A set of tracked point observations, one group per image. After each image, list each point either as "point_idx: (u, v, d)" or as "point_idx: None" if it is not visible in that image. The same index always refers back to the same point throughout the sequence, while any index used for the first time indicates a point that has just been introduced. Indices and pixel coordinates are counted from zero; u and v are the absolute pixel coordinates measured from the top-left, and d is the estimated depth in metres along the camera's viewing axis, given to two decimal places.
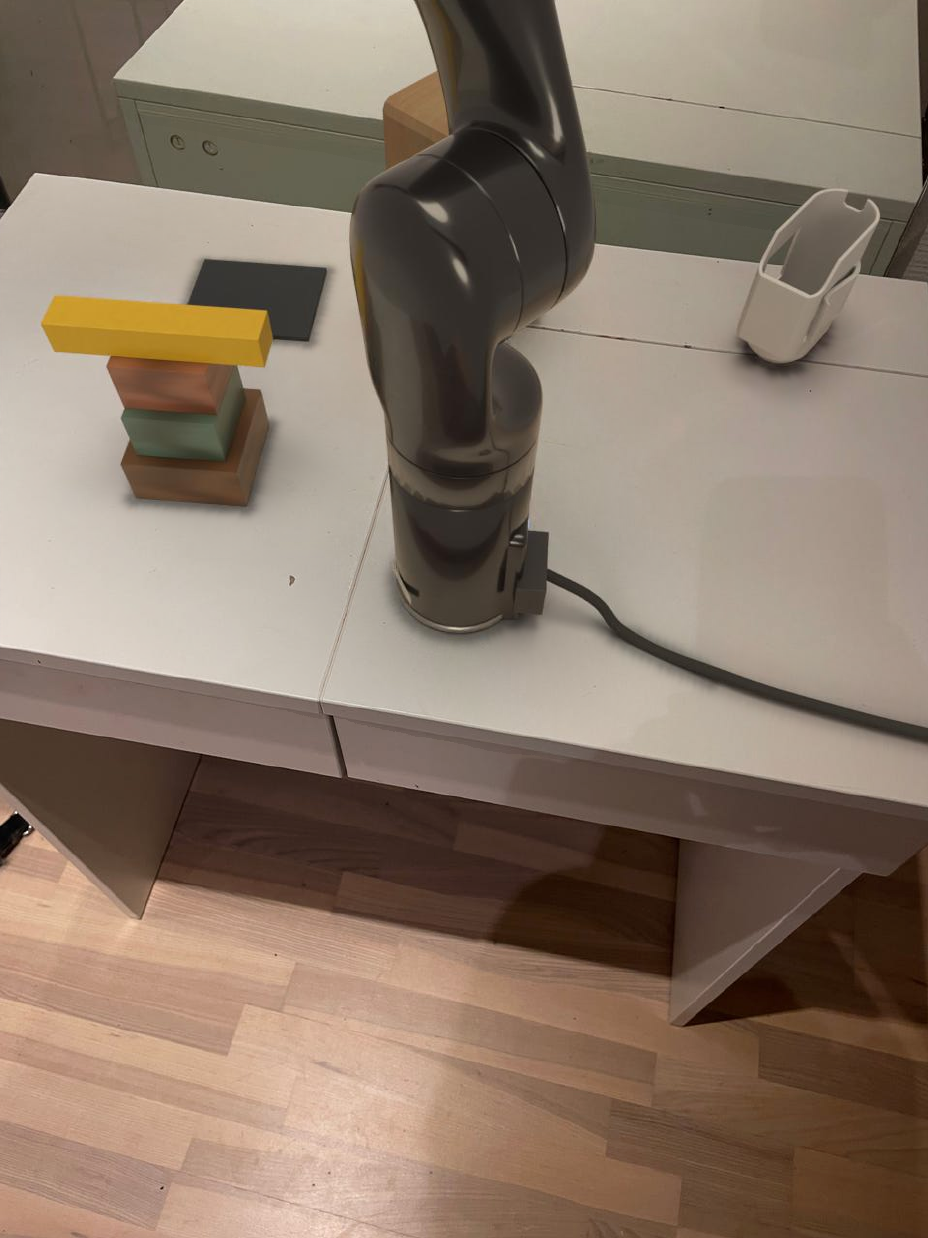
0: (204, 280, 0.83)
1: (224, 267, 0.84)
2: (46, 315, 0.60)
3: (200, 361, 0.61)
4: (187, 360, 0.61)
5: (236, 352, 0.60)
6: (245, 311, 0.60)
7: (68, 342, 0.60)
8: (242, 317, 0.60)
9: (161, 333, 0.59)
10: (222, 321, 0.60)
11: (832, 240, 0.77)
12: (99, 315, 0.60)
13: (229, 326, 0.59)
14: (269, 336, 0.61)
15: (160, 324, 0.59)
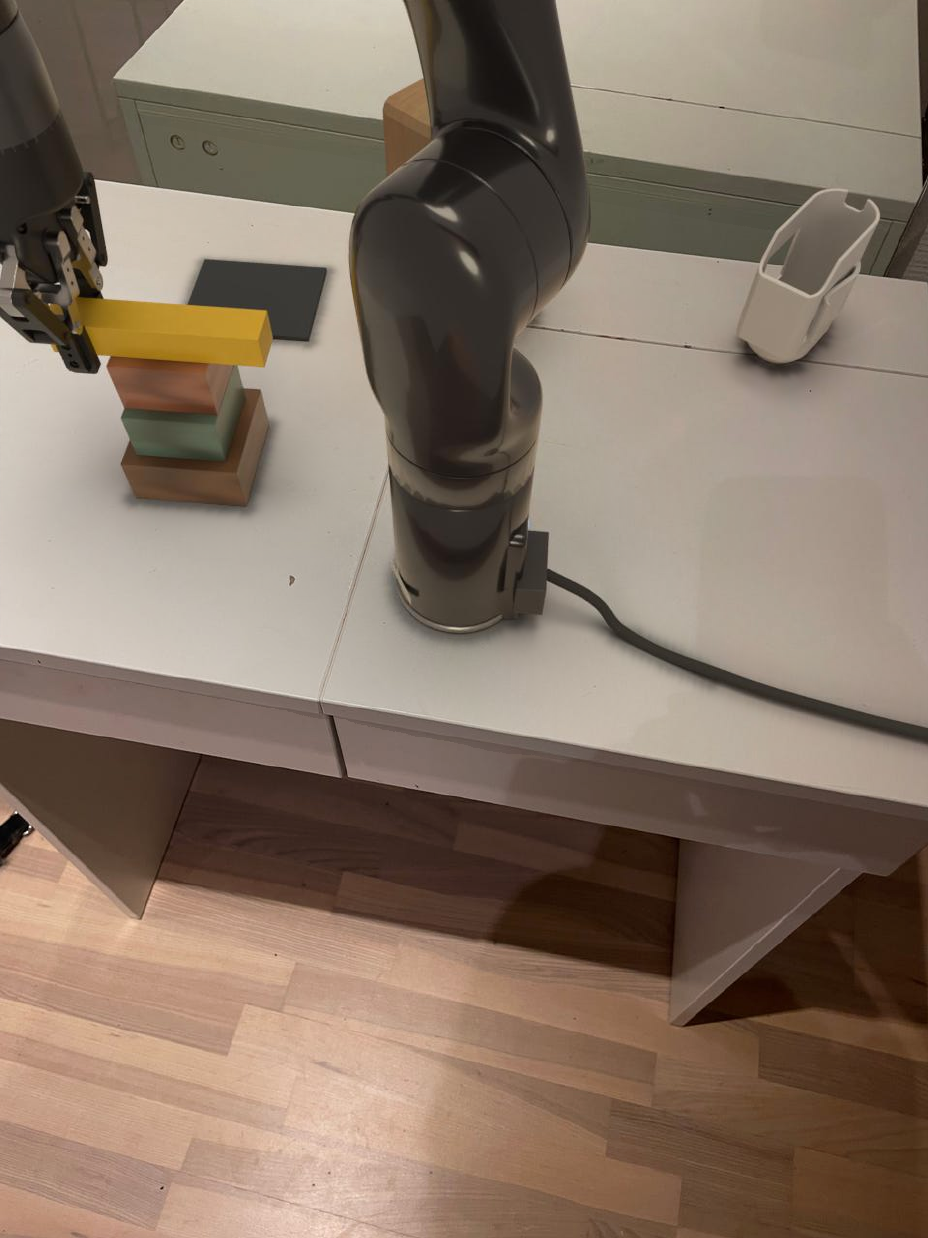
0: (204, 280, 0.83)
1: (224, 267, 0.84)
2: None
3: (200, 361, 0.61)
4: (187, 360, 0.61)
5: (236, 352, 0.60)
6: (245, 311, 0.60)
7: None
8: (242, 317, 0.60)
9: (161, 333, 0.59)
10: (222, 321, 0.60)
11: (832, 240, 0.77)
12: (99, 315, 0.60)
13: (229, 326, 0.59)
14: (269, 336, 0.61)
15: (159, 324, 0.59)
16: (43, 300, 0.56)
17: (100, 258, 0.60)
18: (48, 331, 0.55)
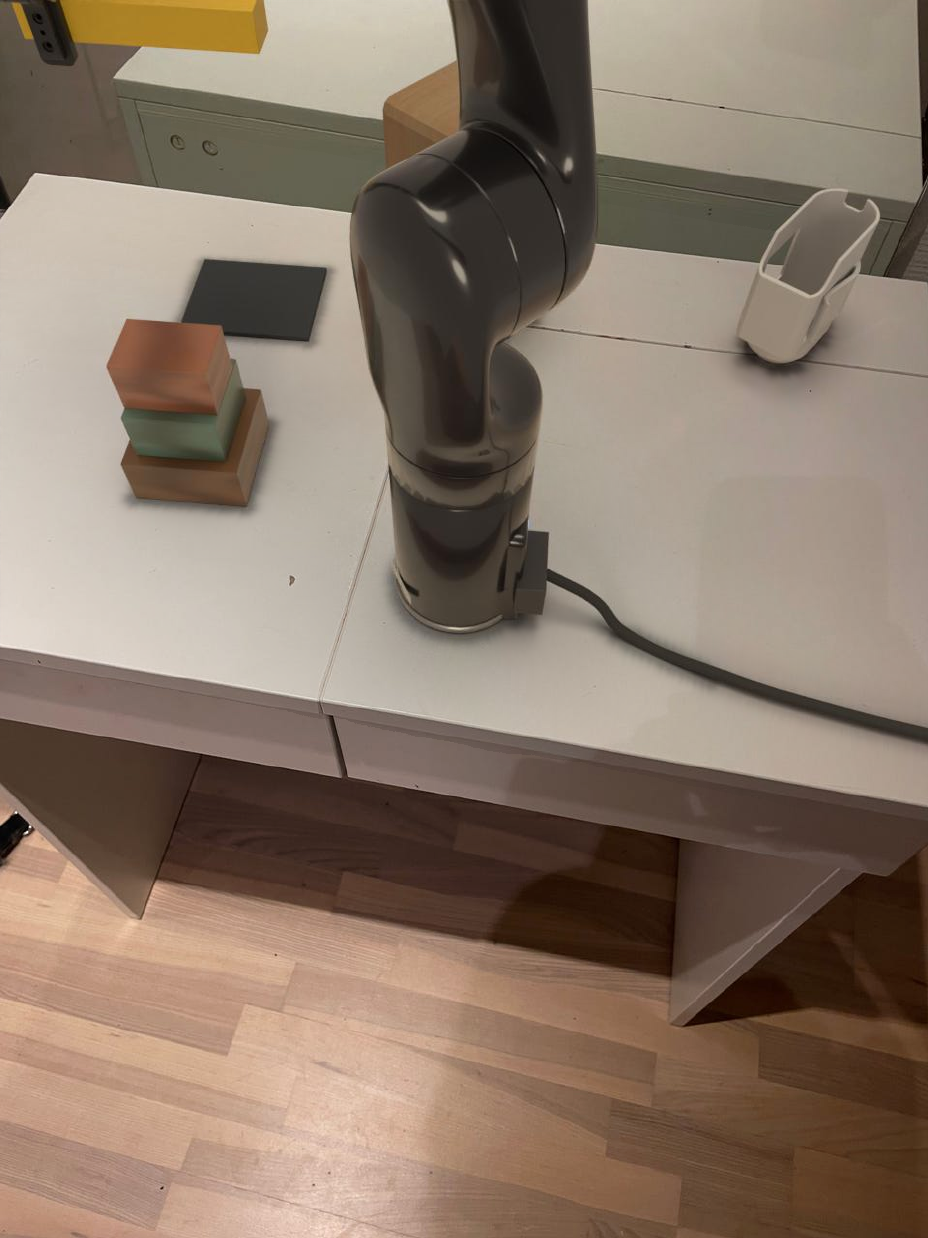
0: (204, 280, 0.83)
1: (224, 267, 0.84)
2: None
3: (187, 47, 0.55)
4: (173, 46, 0.55)
5: (228, 31, 0.54)
6: None
7: None
8: None
9: (144, 4, 0.53)
10: None
11: (832, 240, 0.77)
12: None
13: None
14: (264, 22, 0.55)
15: None
16: None
17: None
18: None
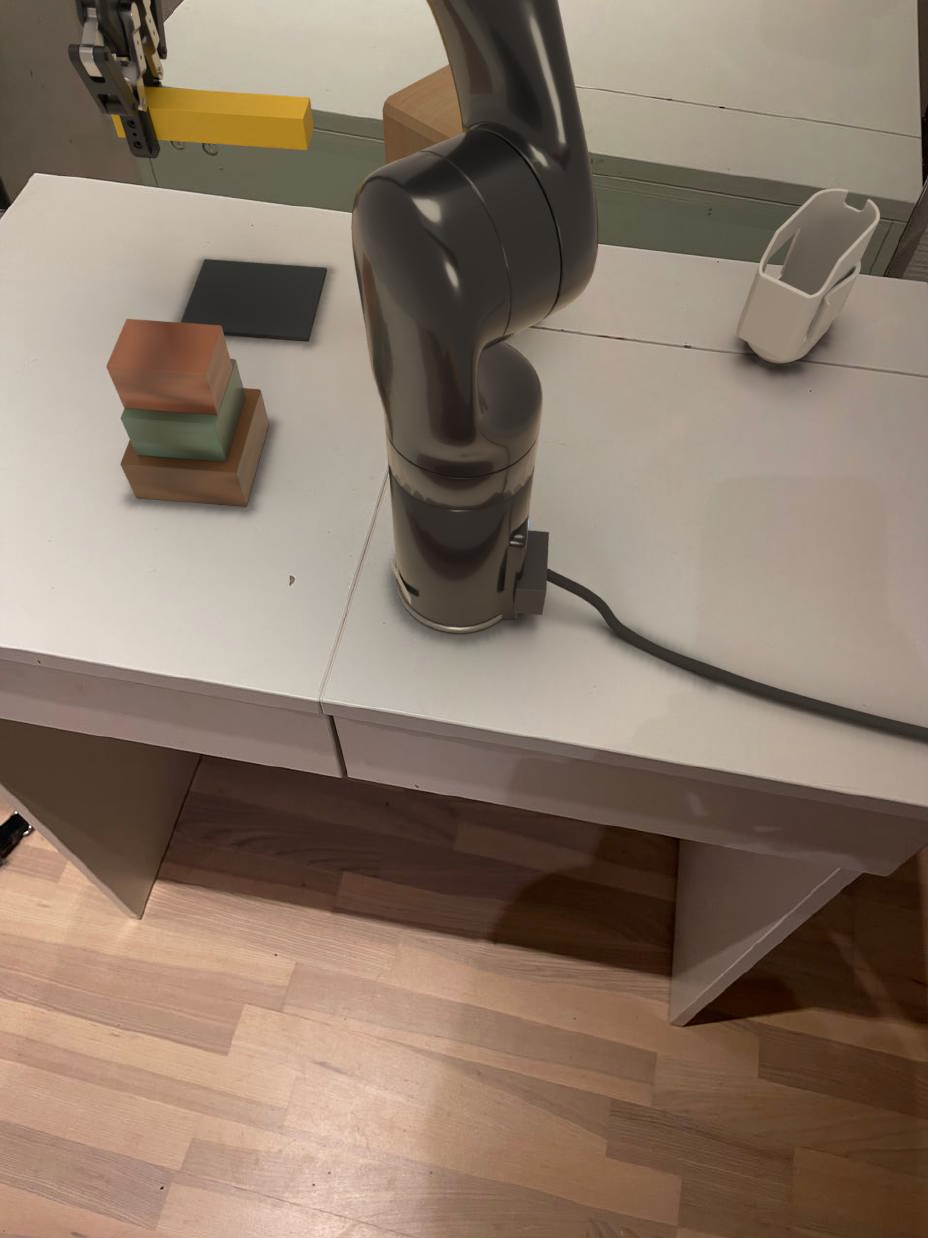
0: (204, 280, 0.83)
1: (224, 267, 0.84)
2: None
3: (249, 144, 0.68)
4: (238, 143, 0.68)
5: (282, 133, 0.67)
6: (290, 97, 0.67)
7: None
8: (288, 101, 0.67)
9: (216, 112, 0.66)
10: (270, 104, 0.67)
11: (832, 240, 0.77)
12: (160, 99, 0.67)
13: (277, 108, 0.66)
14: (311, 123, 0.68)
15: (214, 106, 0.66)
16: None
17: (161, 49, 0.67)
18: (121, 95, 0.62)
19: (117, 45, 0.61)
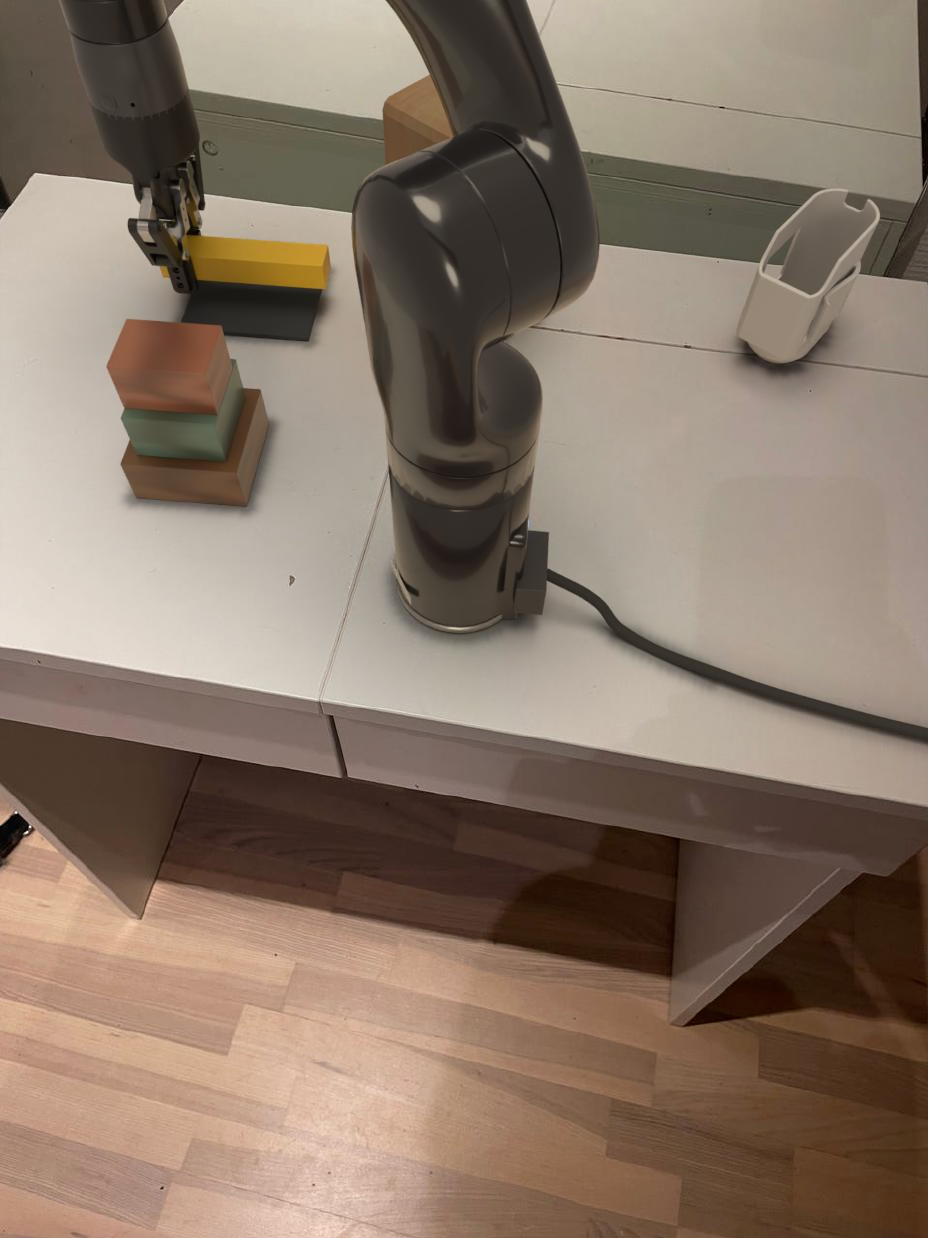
0: (204, 280, 0.83)
1: None
2: None
3: (276, 284, 0.79)
4: (266, 283, 0.79)
5: (304, 276, 0.78)
6: (311, 245, 0.78)
7: None
8: (309, 249, 0.78)
9: (248, 260, 0.77)
10: (294, 252, 0.78)
11: (832, 240, 0.77)
12: (199, 247, 0.78)
13: (300, 256, 0.78)
14: (329, 265, 0.80)
15: (246, 254, 0.78)
16: None
17: (200, 203, 0.78)
18: (169, 254, 0.73)
19: (167, 213, 0.72)
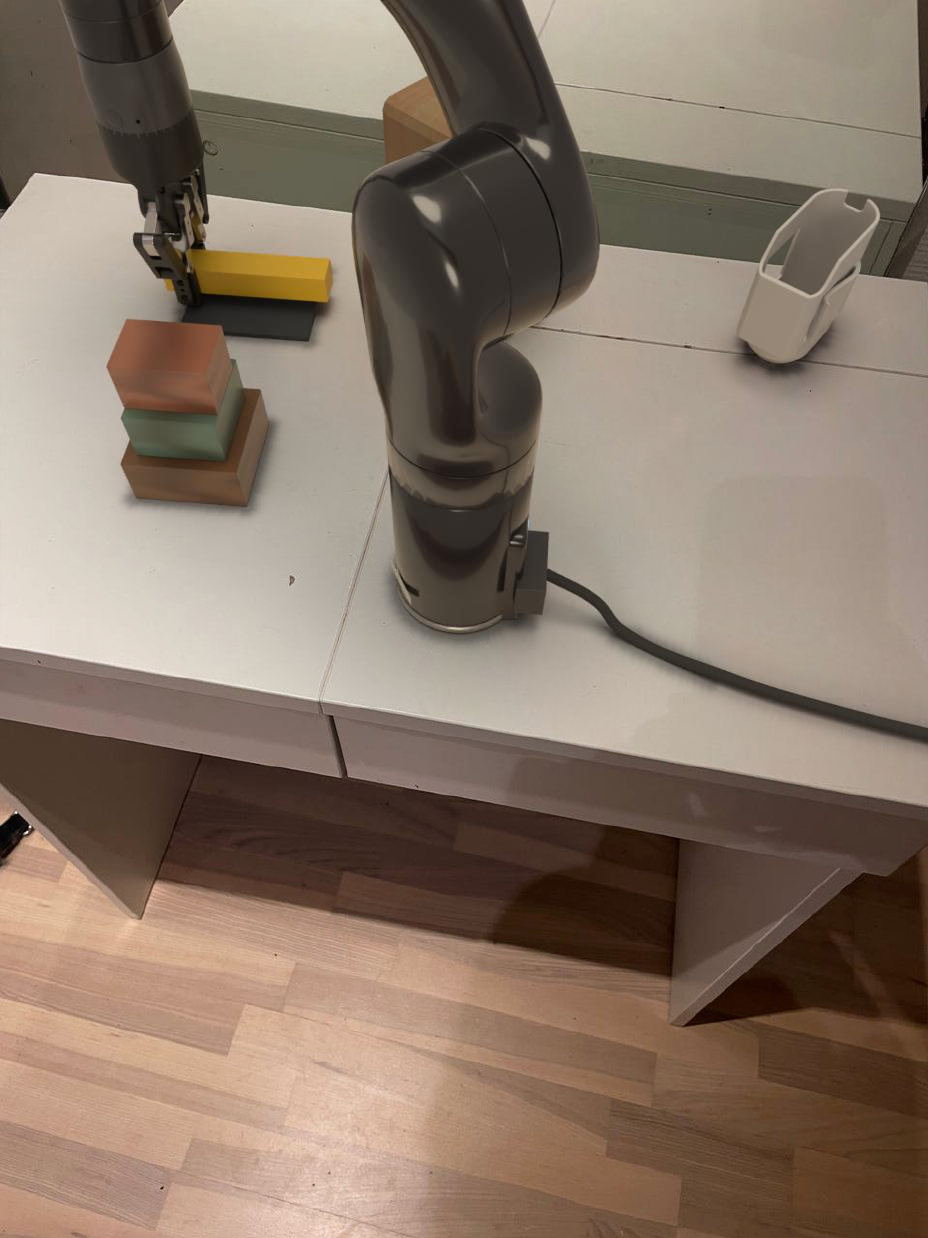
0: None
1: None
2: None
3: (279, 297, 0.80)
4: (269, 296, 0.80)
5: (307, 289, 0.79)
6: (313, 258, 0.79)
7: None
8: (311, 263, 0.79)
9: (251, 274, 0.78)
10: (296, 266, 0.79)
11: (832, 240, 0.77)
12: (203, 261, 0.79)
13: (302, 269, 0.79)
14: (331, 278, 0.81)
15: (249, 268, 0.79)
16: None
17: (204, 217, 0.79)
18: (174, 268, 0.74)
19: (171, 227, 0.73)
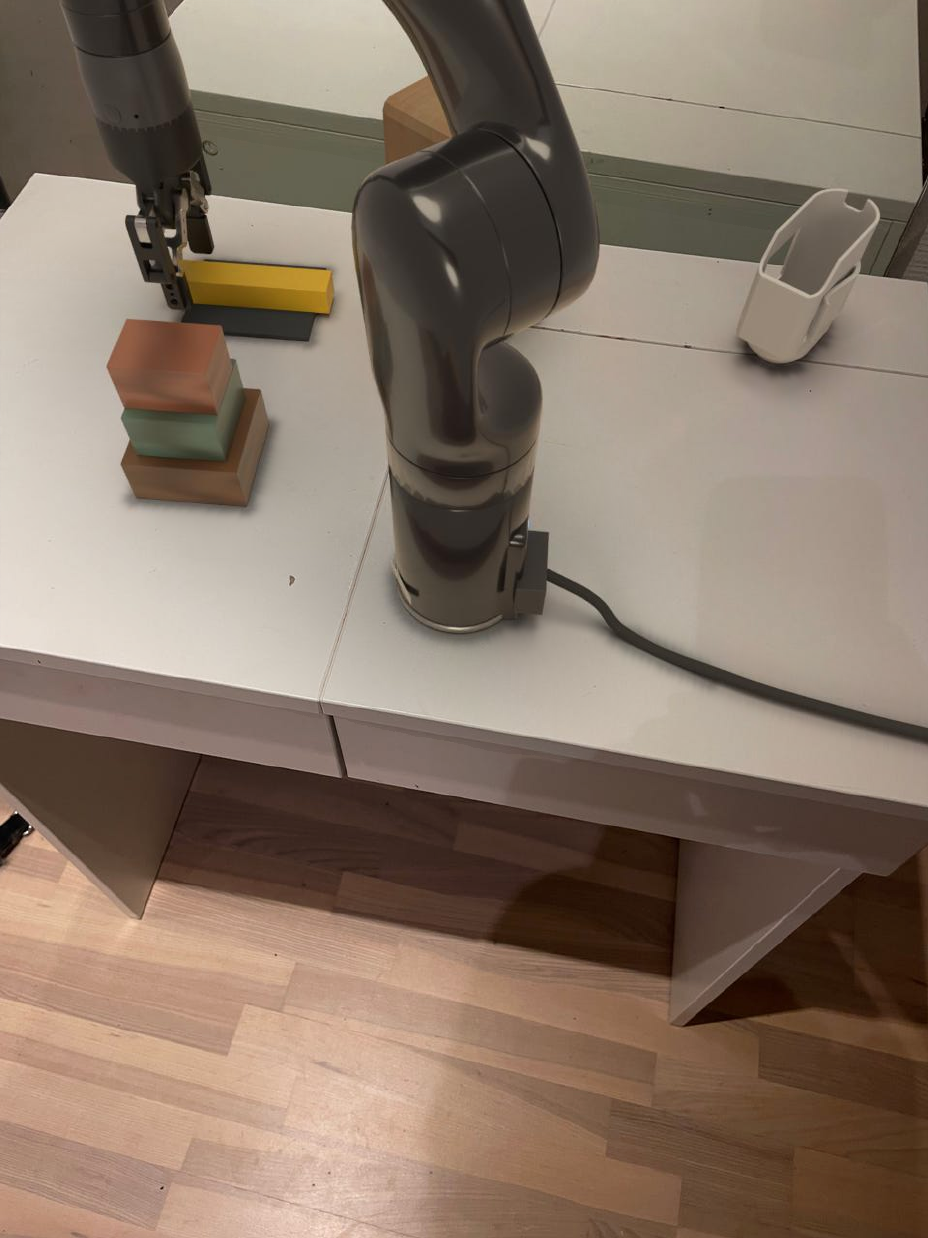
0: None
1: None
2: None
3: (280, 308, 0.81)
4: (271, 308, 0.81)
5: (308, 301, 0.80)
6: (315, 271, 0.80)
7: None
8: (313, 275, 0.80)
9: (253, 286, 0.79)
10: (298, 278, 0.80)
11: (832, 240, 0.77)
12: (206, 273, 0.80)
13: (304, 281, 0.80)
14: (332, 290, 0.82)
15: (252, 280, 0.80)
16: None
17: (207, 189, 0.80)
18: (163, 261, 0.71)
19: (170, 223, 0.73)
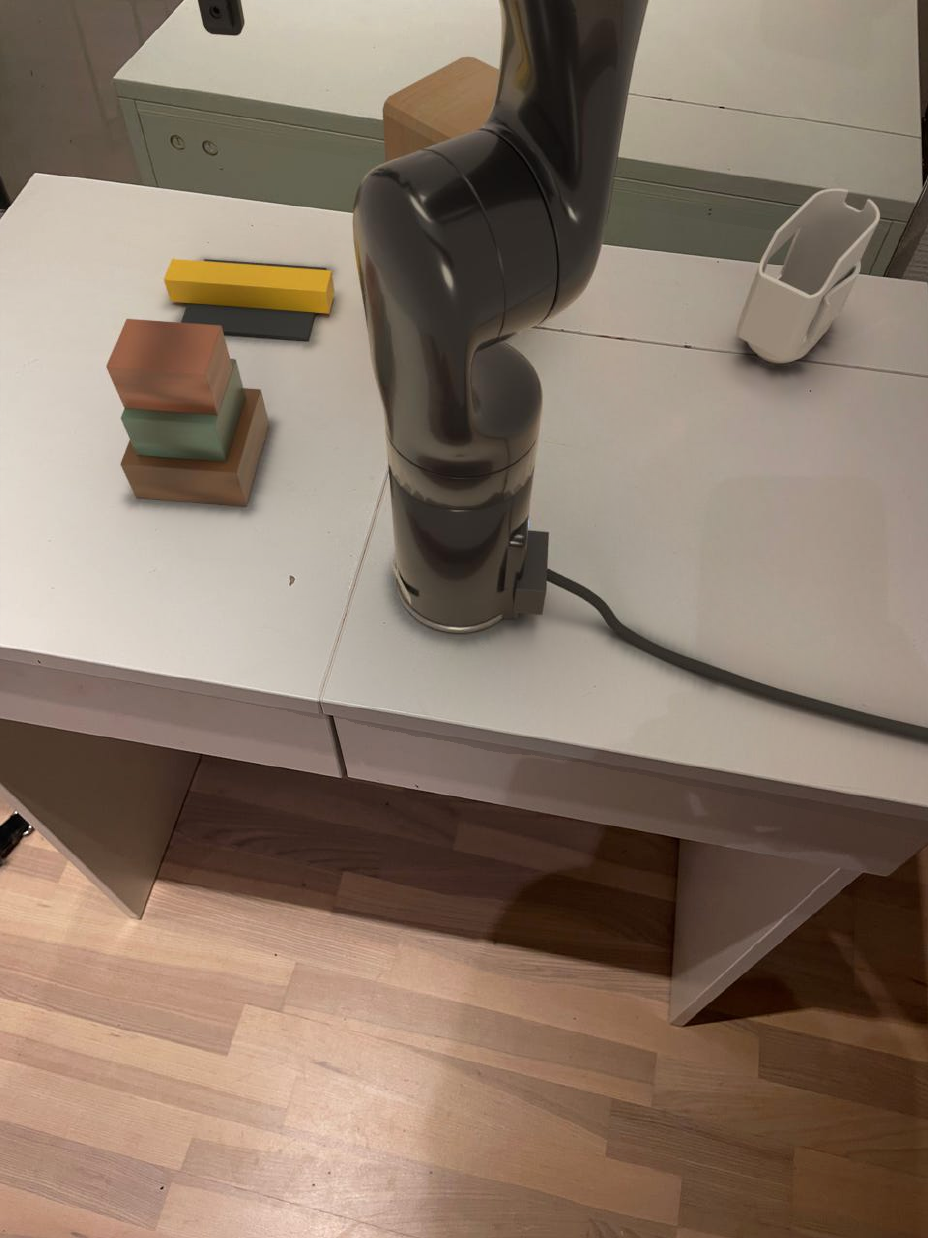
0: None
1: None
2: (167, 273, 0.80)
3: (280, 308, 0.81)
4: (271, 308, 0.81)
5: (308, 301, 0.80)
6: (315, 271, 0.80)
7: (182, 294, 0.81)
8: (313, 275, 0.80)
9: (253, 286, 0.79)
10: (298, 278, 0.80)
11: (832, 240, 0.77)
12: (206, 273, 0.80)
13: (304, 281, 0.80)
14: (332, 290, 0.82)
15: (252, 280, 0.80)
16: None
17: None
18: None
19: None
